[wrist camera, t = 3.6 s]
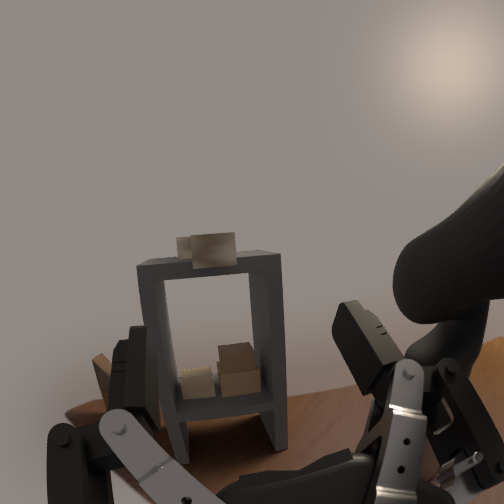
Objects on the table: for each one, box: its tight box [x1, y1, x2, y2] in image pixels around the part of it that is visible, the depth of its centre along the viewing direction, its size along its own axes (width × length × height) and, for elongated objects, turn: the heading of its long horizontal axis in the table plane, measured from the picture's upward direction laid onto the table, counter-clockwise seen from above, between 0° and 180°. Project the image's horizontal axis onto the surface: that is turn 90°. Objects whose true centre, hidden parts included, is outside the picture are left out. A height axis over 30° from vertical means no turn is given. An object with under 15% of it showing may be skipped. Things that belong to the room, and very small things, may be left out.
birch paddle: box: [176, 232, 237, 269], centre depth 36 cm, size 8×20×3 cm, turn 12°
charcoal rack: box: [136, 250, 288, 464], centre depth 42 cm, size 18×12×32 cm, turn 102°
